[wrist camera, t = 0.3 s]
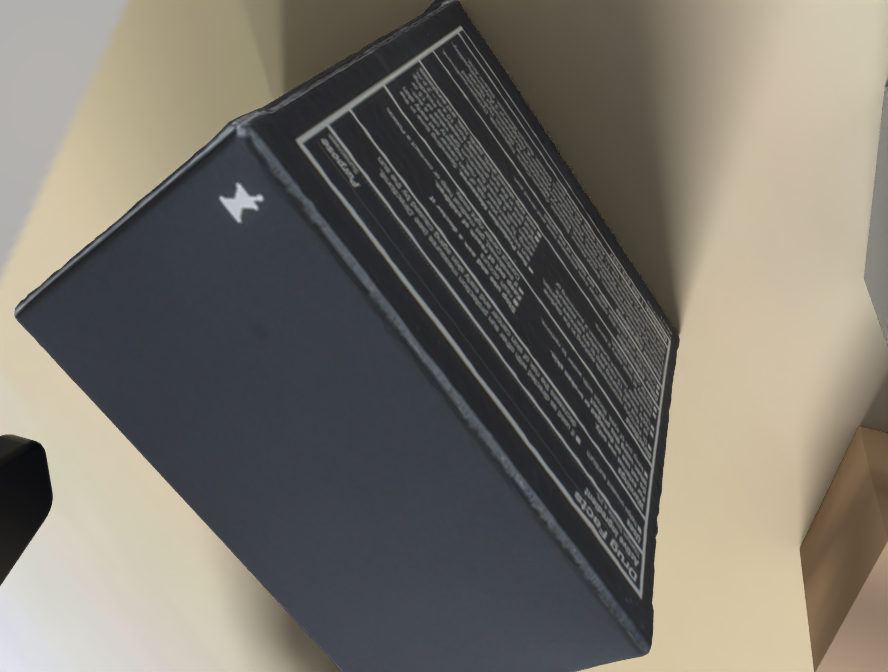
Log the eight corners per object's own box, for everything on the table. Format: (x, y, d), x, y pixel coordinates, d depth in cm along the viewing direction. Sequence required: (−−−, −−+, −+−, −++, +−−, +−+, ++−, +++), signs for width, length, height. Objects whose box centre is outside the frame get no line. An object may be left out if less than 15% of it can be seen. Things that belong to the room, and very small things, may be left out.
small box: (268, 137, 22) (-20, 315, 14) (455, -15, 19) (238, 90, 10) (491, 430, 25) (371, 737, 16) (689, 340, 22) (671, 660, 13)
